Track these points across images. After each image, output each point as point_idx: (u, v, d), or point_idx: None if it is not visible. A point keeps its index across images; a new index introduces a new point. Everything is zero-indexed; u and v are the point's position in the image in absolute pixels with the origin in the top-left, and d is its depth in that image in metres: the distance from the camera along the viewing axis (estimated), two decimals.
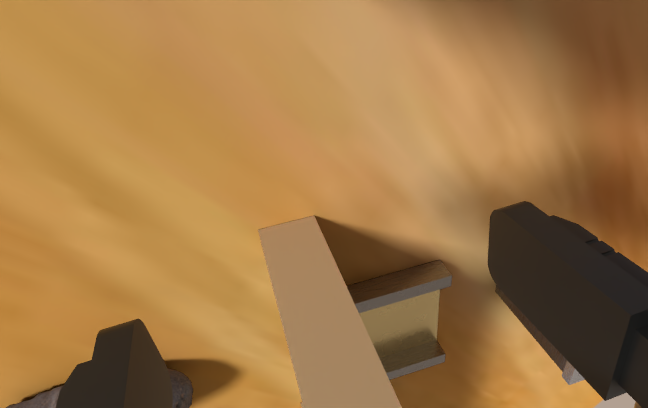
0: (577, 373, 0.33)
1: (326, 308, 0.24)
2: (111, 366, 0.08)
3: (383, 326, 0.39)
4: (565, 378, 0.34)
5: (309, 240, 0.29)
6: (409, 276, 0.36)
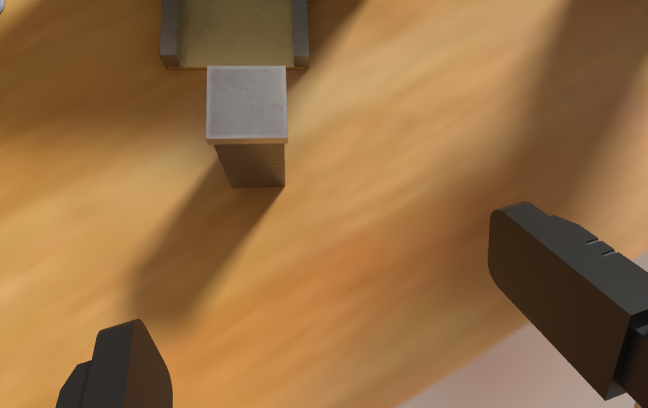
0: (230, 72, 0.25)
1: None
2: (111, 366, 0.08)
3: (235, 9, 0.37)
4: None
5: None
6: None
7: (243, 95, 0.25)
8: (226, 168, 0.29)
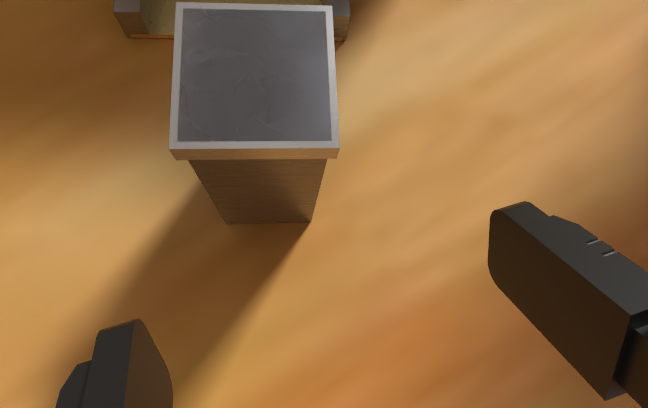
0: (221, 15, 0.12)
1: None
2: (111, 366, 0.08)
3: None
4: None
5: None
6: None
7: (248, 60, 0.12)
8: (216, 198, 0.17)
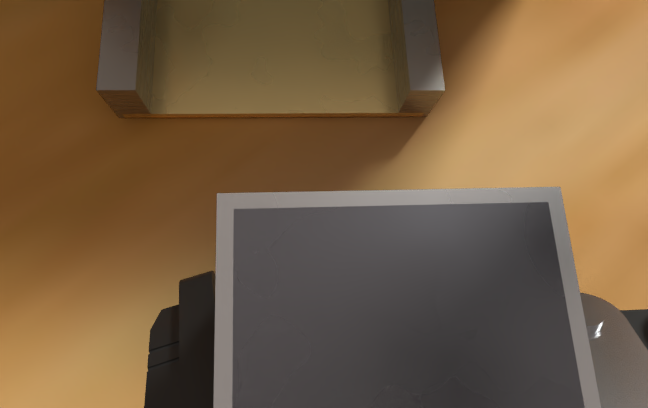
0: (322, 224, 0.05)
1: None
2: (198, 306, 0.09)
3: None
4: None
5: None
6: None
7: (390, 342, 0.05)
8: None
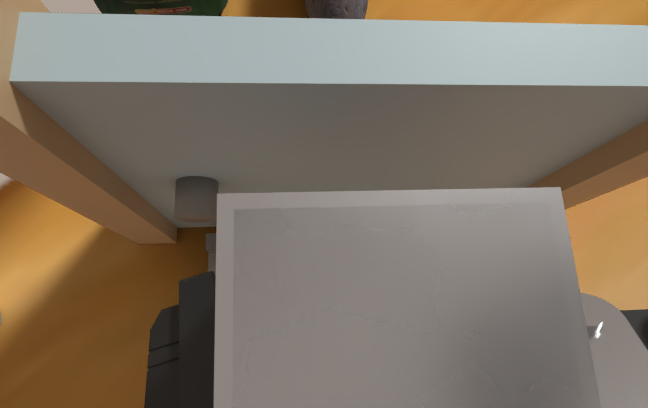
0: (323, 224, 0.05)
1: None
2: (198, 306, 0.09)
3: None
4: None
5: None
6: None
7: (391, 342, 0.05)
8: None
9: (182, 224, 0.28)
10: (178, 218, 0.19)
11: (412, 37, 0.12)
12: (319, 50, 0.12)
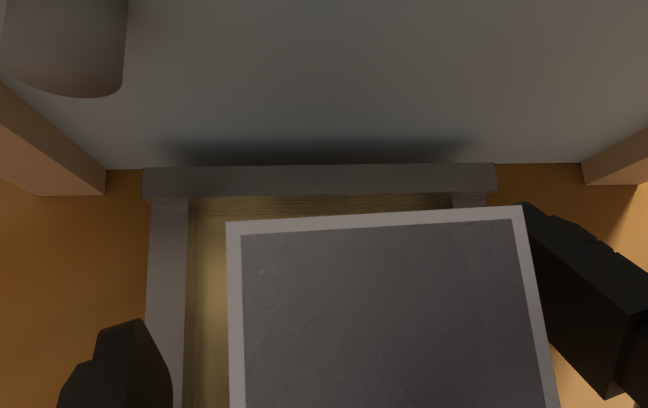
0: (317, 245, 0.06)
1: None
2: (111, 365, 0.08)
3: None
4: None
5: None
6: None
7: (378, 344, 0.06)
8: None
9: (111, 160, 0.16)
10: (18, 73, 0.07)
11: None
12: None
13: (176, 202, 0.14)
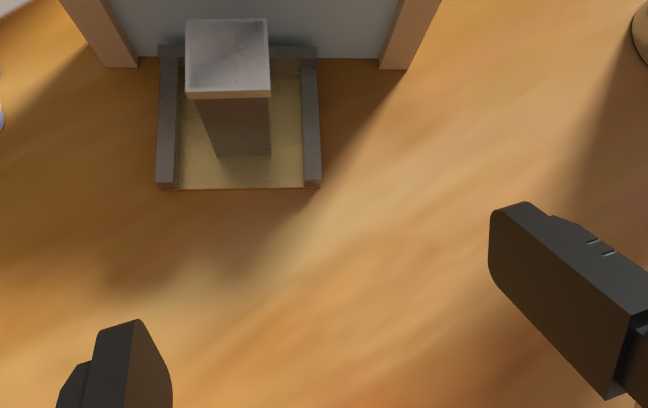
0: (209, 25, 0.24)
1: None
2: (111, 366, 0.08)
3: None
4: None
5: None
6: None
7: (223, 47, 0.24)
8: (209, 132, 0.28)
9: (141, 49, 0.34)
10: None
11: None
12: None
13: (172, 62, 0.32)
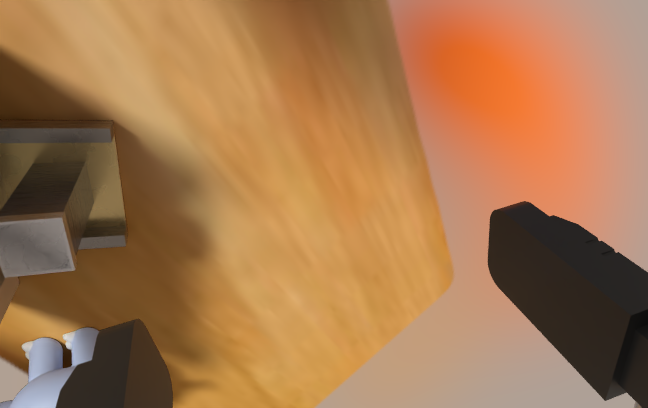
0: (6, 262, 0.30)
1: None
2: (111, 366, 0.08)
3: None
4: None
5: None
6: (68, 123, 0.36)
7: (27, 251, 0.30)
8: (85, 226, 0.36)
9: None
10: None
11: None
12: None
13: None
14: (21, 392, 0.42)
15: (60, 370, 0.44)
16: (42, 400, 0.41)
